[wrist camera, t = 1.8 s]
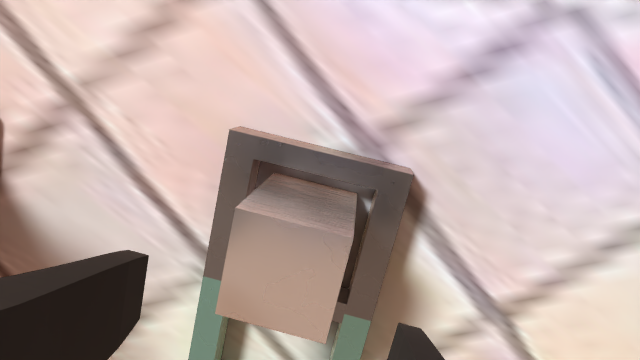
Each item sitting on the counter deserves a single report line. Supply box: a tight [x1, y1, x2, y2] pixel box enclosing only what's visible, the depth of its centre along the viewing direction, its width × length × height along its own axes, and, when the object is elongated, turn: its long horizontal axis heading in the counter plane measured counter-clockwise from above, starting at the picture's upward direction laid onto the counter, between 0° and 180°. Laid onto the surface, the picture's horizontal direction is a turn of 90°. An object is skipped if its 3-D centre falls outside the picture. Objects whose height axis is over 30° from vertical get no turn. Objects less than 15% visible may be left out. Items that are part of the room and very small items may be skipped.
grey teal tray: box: [188, 126, 414, 360], centre depth 20 cm, size 8×14×2 cm, turn 167°
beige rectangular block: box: [215, 173, 357, 344], centre depth 17 cm, size 4×4×6 cm
